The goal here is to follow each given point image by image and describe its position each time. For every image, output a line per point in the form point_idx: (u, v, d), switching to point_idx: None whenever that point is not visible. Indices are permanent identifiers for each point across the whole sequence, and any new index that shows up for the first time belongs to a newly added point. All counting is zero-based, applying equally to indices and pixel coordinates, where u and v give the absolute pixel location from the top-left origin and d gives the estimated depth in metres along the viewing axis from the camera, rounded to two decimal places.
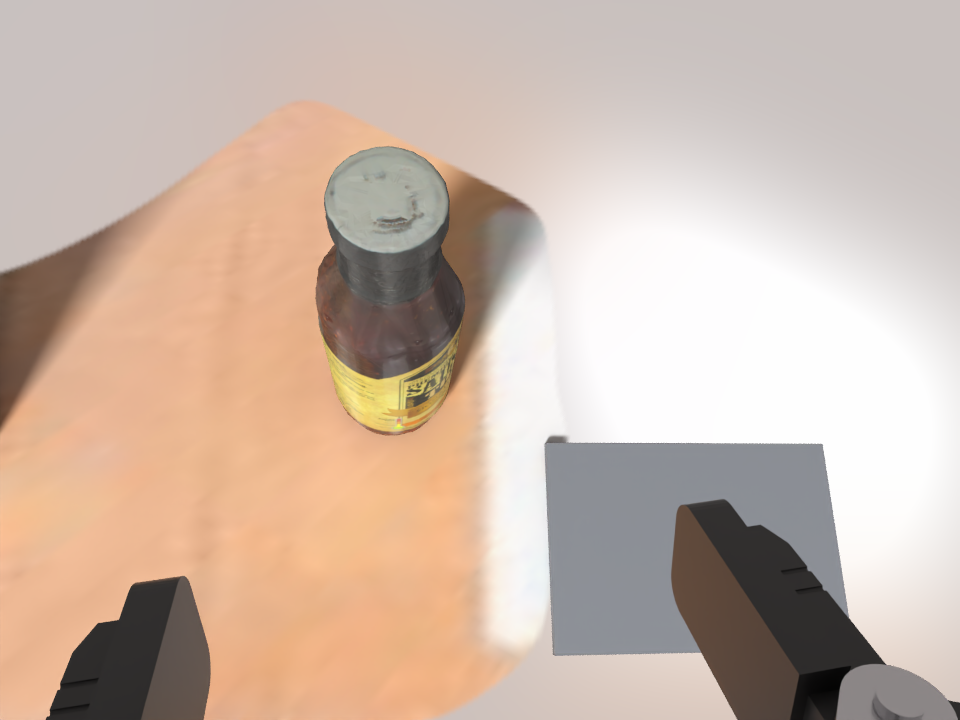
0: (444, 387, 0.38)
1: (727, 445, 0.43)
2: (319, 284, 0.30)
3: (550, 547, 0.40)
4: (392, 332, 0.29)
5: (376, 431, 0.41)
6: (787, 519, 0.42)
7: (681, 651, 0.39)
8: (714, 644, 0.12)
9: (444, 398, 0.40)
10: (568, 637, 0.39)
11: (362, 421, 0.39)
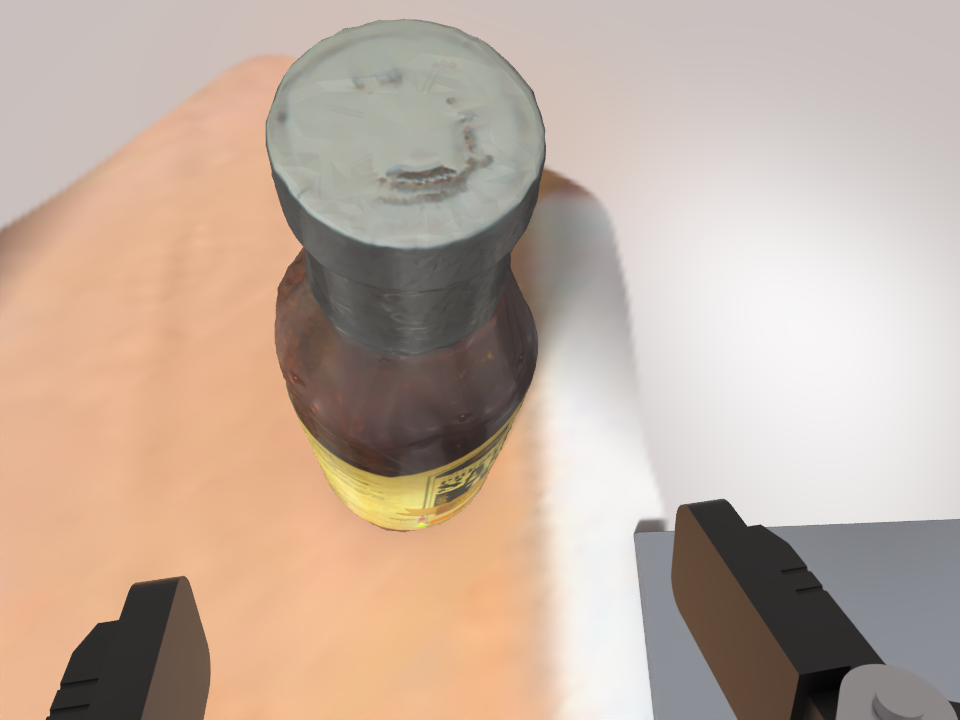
0: (491, 466, 0.24)
1: (899, 524, 0.29)
2: (279, 317, 0.16)
3: (655, 695, 0.27)
4: (417, 402, 0.15)
5: (386, 528, 0.27)
6: None
7: None
8: (714, 644, 0.12)
9: None
10: None
11: (365, 517, 0.26)
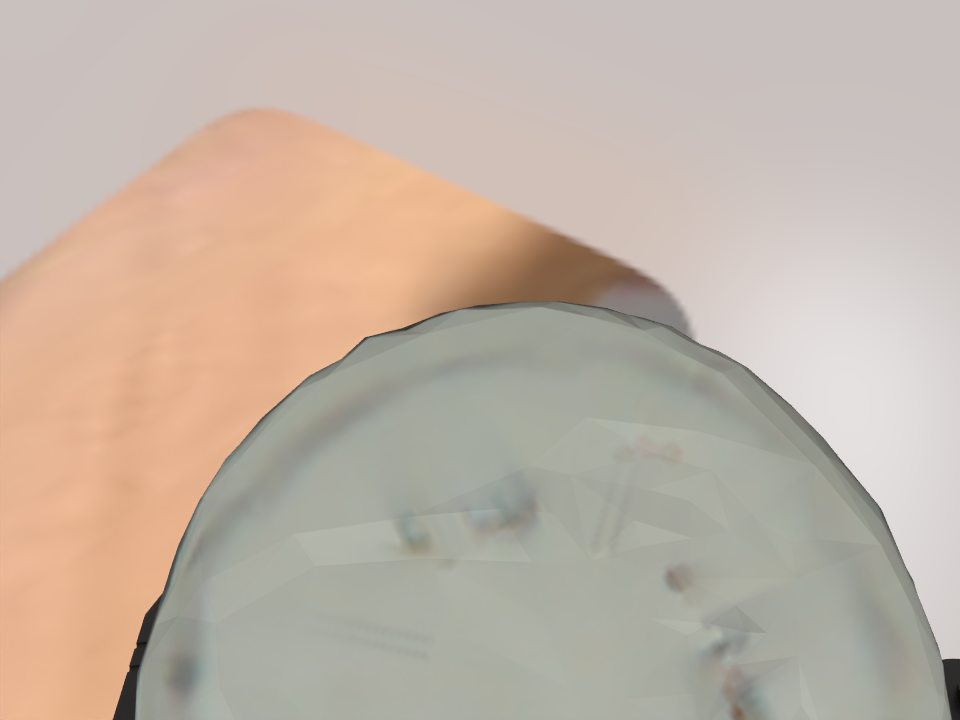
0: None
1: None
2: None
3: None
4: None
5: None
6: None
7: None
8: None
9: None
10: None
11: None
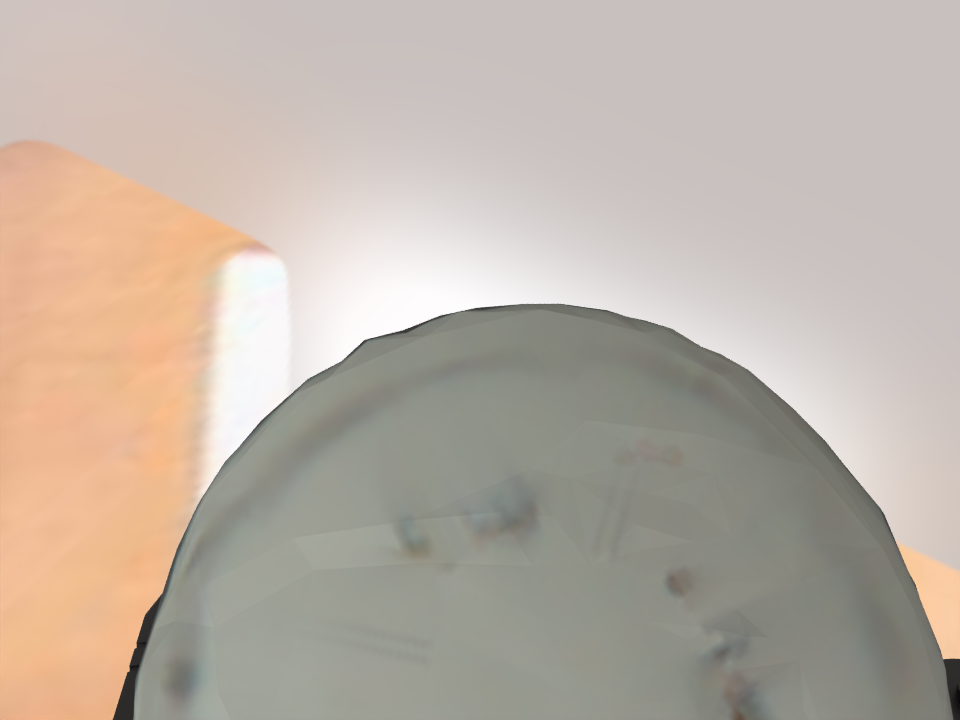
0: None
1: None
2: None
3: None
4: None
5: None
6: None
7: None
8: None
9: None
10: None
11: None
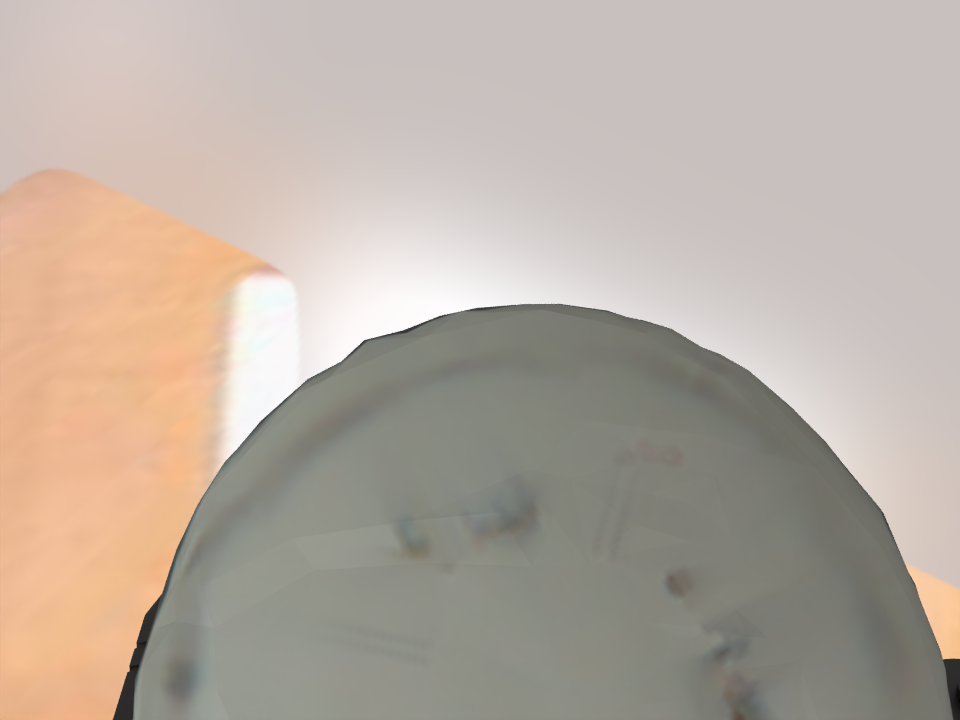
0: None
1: None
2: None
3: None
4: None
5: None
6: None
7: None
8: None
9: None
10: None
11: None
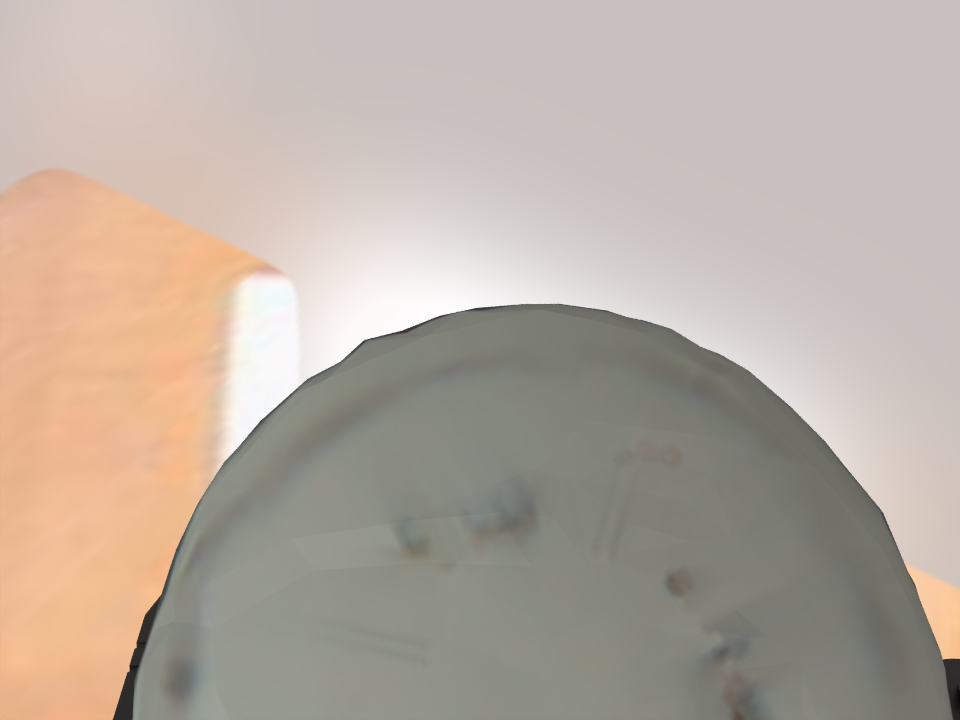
0: None
1: None
2: None
3: None
4: None
5: None
6: None
7: None
8: None
9: None
10: None
11: None
